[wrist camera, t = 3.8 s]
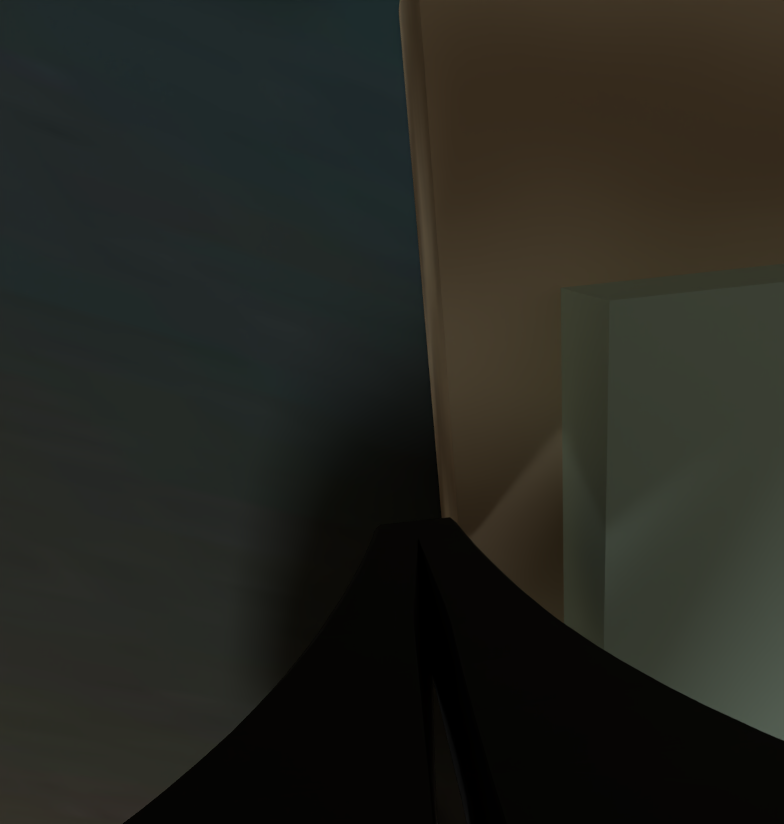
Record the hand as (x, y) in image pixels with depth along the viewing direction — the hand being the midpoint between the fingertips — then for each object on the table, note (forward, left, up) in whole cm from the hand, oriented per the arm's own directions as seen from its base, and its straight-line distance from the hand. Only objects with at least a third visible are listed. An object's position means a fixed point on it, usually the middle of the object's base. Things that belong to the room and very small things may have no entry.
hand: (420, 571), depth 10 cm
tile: (0, -6, -1) cm, 6 cm away
